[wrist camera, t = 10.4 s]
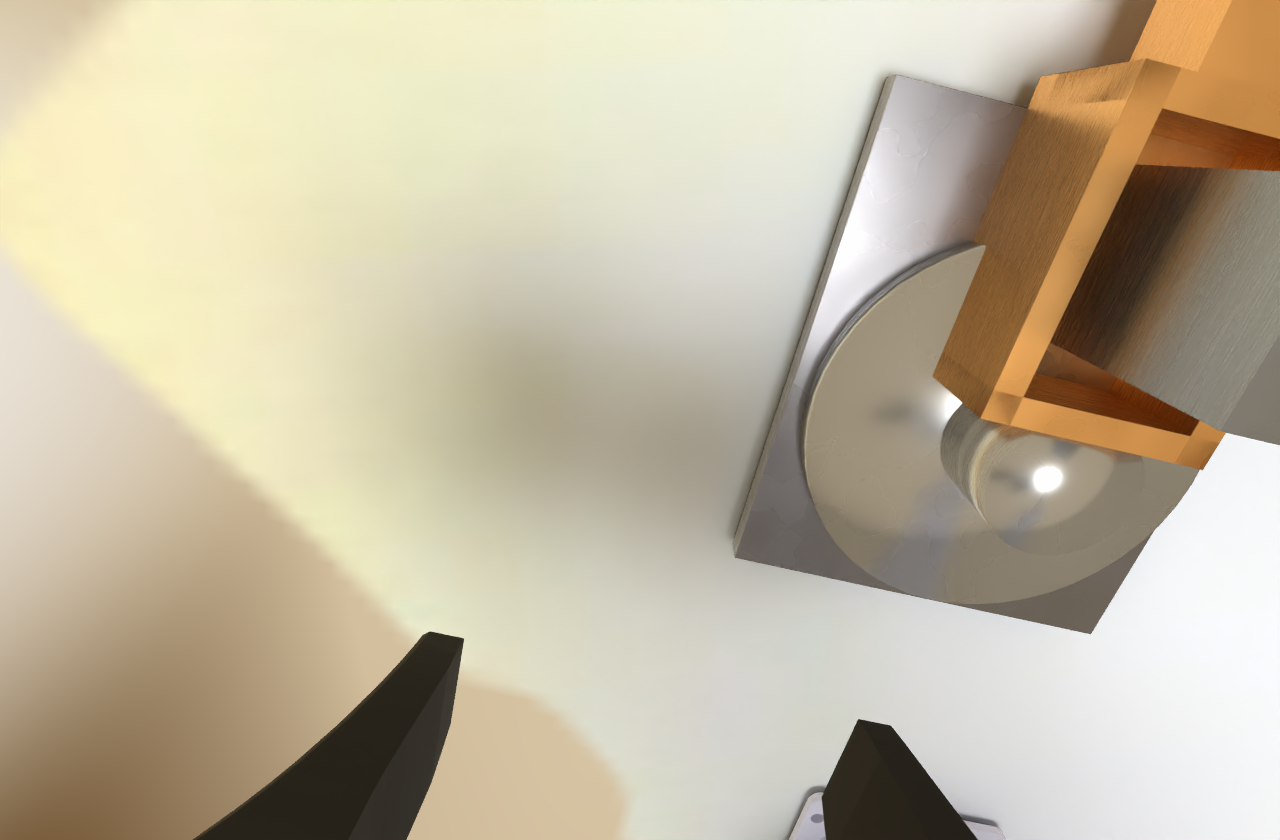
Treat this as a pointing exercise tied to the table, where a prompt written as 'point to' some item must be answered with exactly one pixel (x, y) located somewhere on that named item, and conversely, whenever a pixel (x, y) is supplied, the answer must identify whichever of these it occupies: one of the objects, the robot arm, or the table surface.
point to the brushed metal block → (1188, 295)
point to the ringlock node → (1000, 333)
